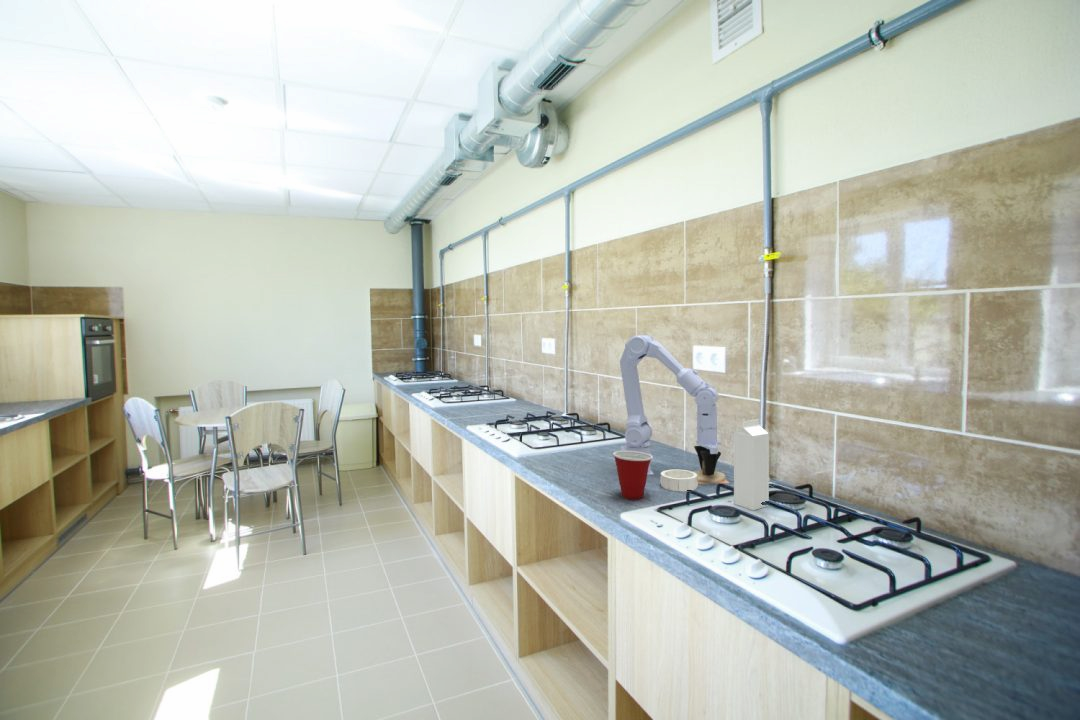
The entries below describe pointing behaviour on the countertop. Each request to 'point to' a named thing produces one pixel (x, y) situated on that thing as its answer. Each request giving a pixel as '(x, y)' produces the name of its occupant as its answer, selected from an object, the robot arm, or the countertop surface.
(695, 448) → the robot arm
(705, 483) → the mat
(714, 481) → the lid
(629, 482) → the plastic cup
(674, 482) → the bowl
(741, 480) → the milk
